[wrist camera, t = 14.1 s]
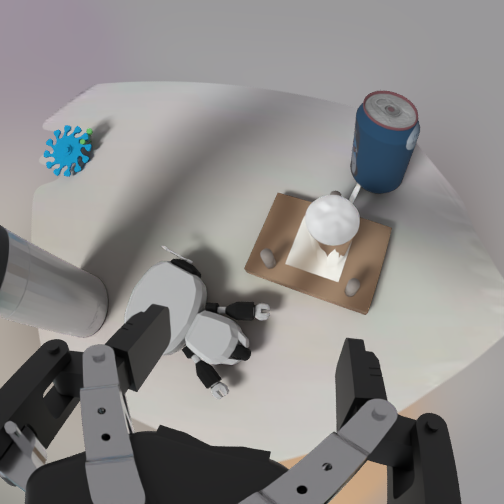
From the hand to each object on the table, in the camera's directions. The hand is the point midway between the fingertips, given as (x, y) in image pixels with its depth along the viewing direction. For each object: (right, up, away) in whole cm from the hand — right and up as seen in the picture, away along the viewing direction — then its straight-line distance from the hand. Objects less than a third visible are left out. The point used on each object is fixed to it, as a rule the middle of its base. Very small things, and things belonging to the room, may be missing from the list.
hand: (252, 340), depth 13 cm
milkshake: (+9, +4, +19) cm, 21 cm away
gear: (-33, +22, +36) cm, 54 cm away
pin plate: (+8, +4, +20) cm, 22 cm away
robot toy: (-6, -5, +21) cm, 22 cm away
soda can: (+16, +14, +23) cm, 31 cm away
